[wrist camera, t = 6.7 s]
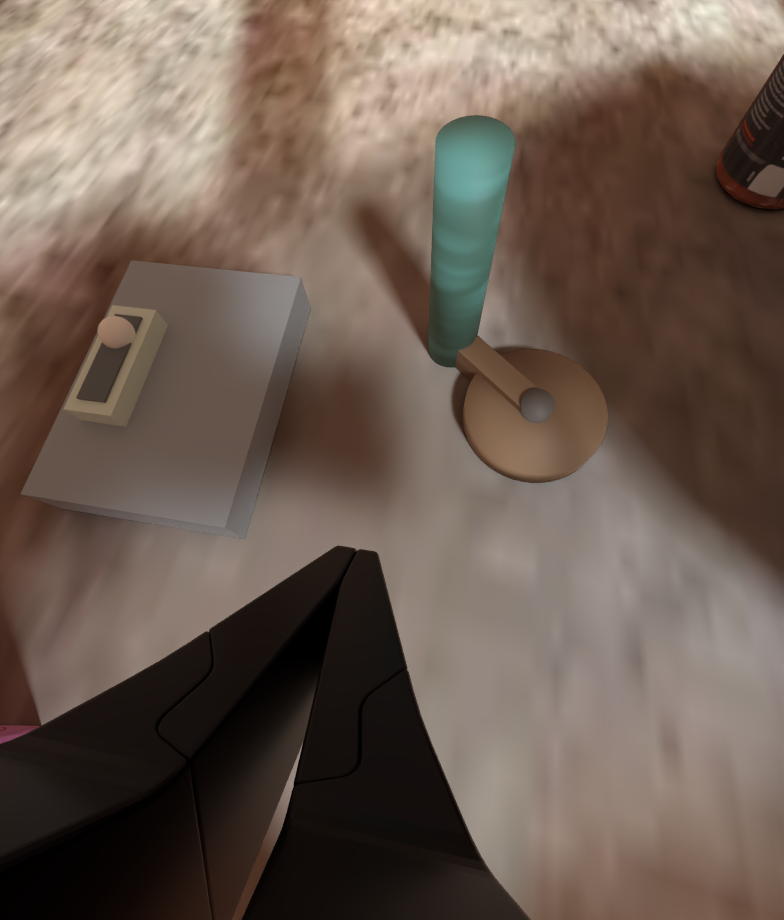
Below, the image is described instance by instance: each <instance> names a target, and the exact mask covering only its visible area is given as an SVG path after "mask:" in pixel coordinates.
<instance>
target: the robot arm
mask: <svg viewBox="0 0 784 920" xmlns="http://www.w3.org/2000/svg"><path fill="white" fill-rule="evenodd" d="M302 743H303V746H302ZM301 746H302V750H301V754H300V759H299V763H298V767H297V772H296V776H295V780H294V788H293V790H292V794H291V798H290V802H289V806H288V810H287V813H286V817H285V820H284V823H283V827H282V830H281V832H280V835H279V837H278V839H277V842H276V844H275V846H274V848H273V851H272V853H271V855H270V857H269V860H268V862H267V864H266V866H265V869H264V871H263V873H262V875H261V878H260V880H259V882H258V884H257V887H256V889H255V891H254V893H253V896H252V898H251V900H250V902H249V905H248V907H247V909H246V911H245V914H244V916H243V918H242V920H531V919H530V918H529V917H528V916H527V914H526V913H525V912H524V911H523V910H522V909H521V907H520V906H519V905H518V904H517V903H516V902H515V900H514V899H513V898H512V897H511V896H510V895H509V893H508V892H507V891H506V890H505V889H504V888H503V886H502V885H501V884H500V883H499V882H498V880H497V879H496V878H495V877H494V875H493V874H492V873H491V871H490V870H489V868H488V867H487V865H486V864H485V862H484V860H483V858H482V857H481V855H480V853H479V851H478V849H477V847H476V845H475V843H474V841H473V839H472V837H471V835H470V833H469V830H468V828H467V826H466V824H465V821H464V819H463V817H462V814H461V812H460V810H459V807H458V805H457V802H456V800H455V798H454V795H453V793H452V791H451V788H450V786H449V783H448V781H447V779H446V776H445V774H444V772H443V769H442V767H441V764H440V762H439V760H438V757H437V755H436V753H435V750H434V748H433V745H432V743H431V740H430V738H429V735H428V732H427V730H426V727H425V724H424V722H423V719H422V717H421V714H420V710H419V707H418V704H417V700H416V697H415V694H414V690H413V687H412V683H411V679H410V675H409V672H408V671H407V664H406V661H405V657H404V653H403V649H402V645H401V641H400V637H399V633H398V629H397V626H396V622H395V618H394V614H393V610H392V606H391V602H390V598H389V594H388V591H387V587H386V583H385V579H384V575H383V571H382V567H381V563H380V559H379V555H378V553H377V552H375V551H368V550H362V549H359V550H358V551H356V549H355V548H350V547H344V546H336V547H334V548H333V549H331V550H330V551H328V552H326V553H325V554H323V555H322V556H320V557H319V558H317V559H316V560H314V561H313V562H311V563H310V564H308V565H307V566H305V567H304V568H302V569H301V570H299V571H298V572H296V573H294V574H293V575H291V576H290V577H288V578H287V579H285V580H284V581H282V582H281V583H279V584H278V585H276V586H275V587H273V588H272V589H270V590H269V591H267V592H266V593H264V594H262V595H261V596H259V597H258V598H256V599H255V600H253V601H252V602H250V603H249V604H247V605H246V606H244V607H243V608H241V609H240V610H238V611H237V612H235V613H234V614H232V615H230V616H229V617H227V618H226V619H224V620H223V621H221V622H220V623H218V624H217V625H215V626H214V627H212V628H211V629H210V630H209V632H204V633H203V634H201V635H200V636H198V637H197V638H195V639H194V640H192V641H191V642H189V643H187V644H186V645H184V646H183V647H181V648H179V649H178V650H176V651H175V652H173V653H171V654H170V655H168V656H167V657H165V658H163V659H162V660H160V661H158V662H157V663H155V664H153V665H151V666H150V667H148V668H146V669H144V670H143V671H141V672H139V673H137V674H136V675H134V676H132V677H130V678H128V679H127V680H125V681H123V682H121V683H119V684H117V685H116V686H114V687H112V688H110V689H108V690H106V691H105V692H103V693H101V694H99V695H97V696H95V697H94V698H92V699H90V700H88V701H86V702H84V703H82V704H81V705H79V706H77V707H75V708H73V709H71V710H70V711H68V712H66V713H64V714H62V715H60V716H59V717H57V718H55V719H53V720H51V721H49V722H47V723H46V724H44V725H42V726H40V727H38V728H36V729H34V730H32V731H30V732H28V733H26V734H24V735H22V736H19V737H17V738H14V739H12V740H10V741H7V742H4V743H1V744H0V920H232V917H233V915H234V912H235V910H236V907H237V905H238V902H239V900H240V897H241V895H242V892H243V890H244V887H245V885H246V882H247V880H248V877H249V875H250V872H251V870H252V867H253V865H254V862H255V860H256V857H257V855H258V853H259V850H260V848H261V845H262V843H263V840H264V838H265V835H266V833H267V830H268V828H269V825H270V823H271V820H272V818H273V815H274V813H275V810H276V808H277V805H278V803H279V800H280V798H281V795H282V793H283V790H284V788H285V785H286V783H287V780H288V778H289V775H290V773H291V770H292V768H293V765H294V763H295V760H296V758H297V755H298V753H299V750H300V748H301Z"/></svg>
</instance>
